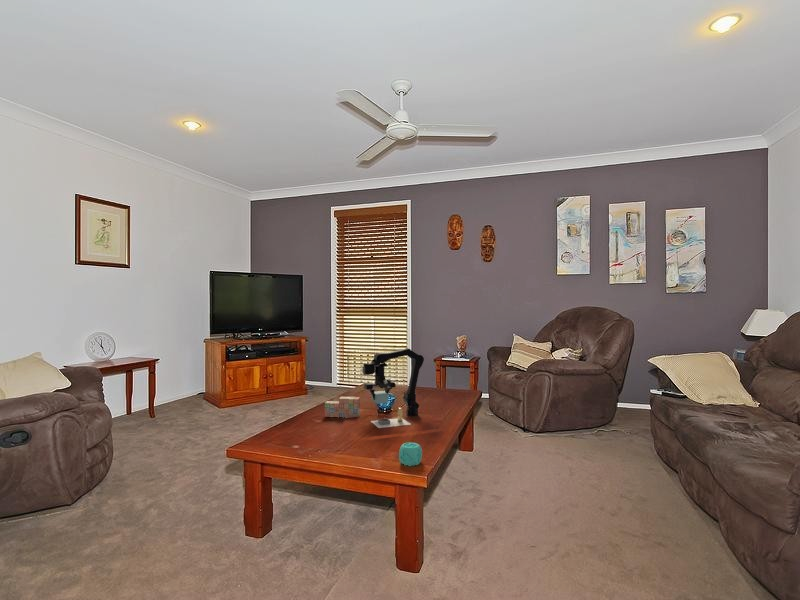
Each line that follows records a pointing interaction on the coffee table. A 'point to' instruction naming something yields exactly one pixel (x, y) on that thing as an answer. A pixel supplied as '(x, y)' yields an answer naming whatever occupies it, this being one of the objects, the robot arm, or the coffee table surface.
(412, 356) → the robot arm
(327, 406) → the stack of blocks
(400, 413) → the pin
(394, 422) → the board
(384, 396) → the block
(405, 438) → the coffee table surface
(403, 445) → the decorative dice
